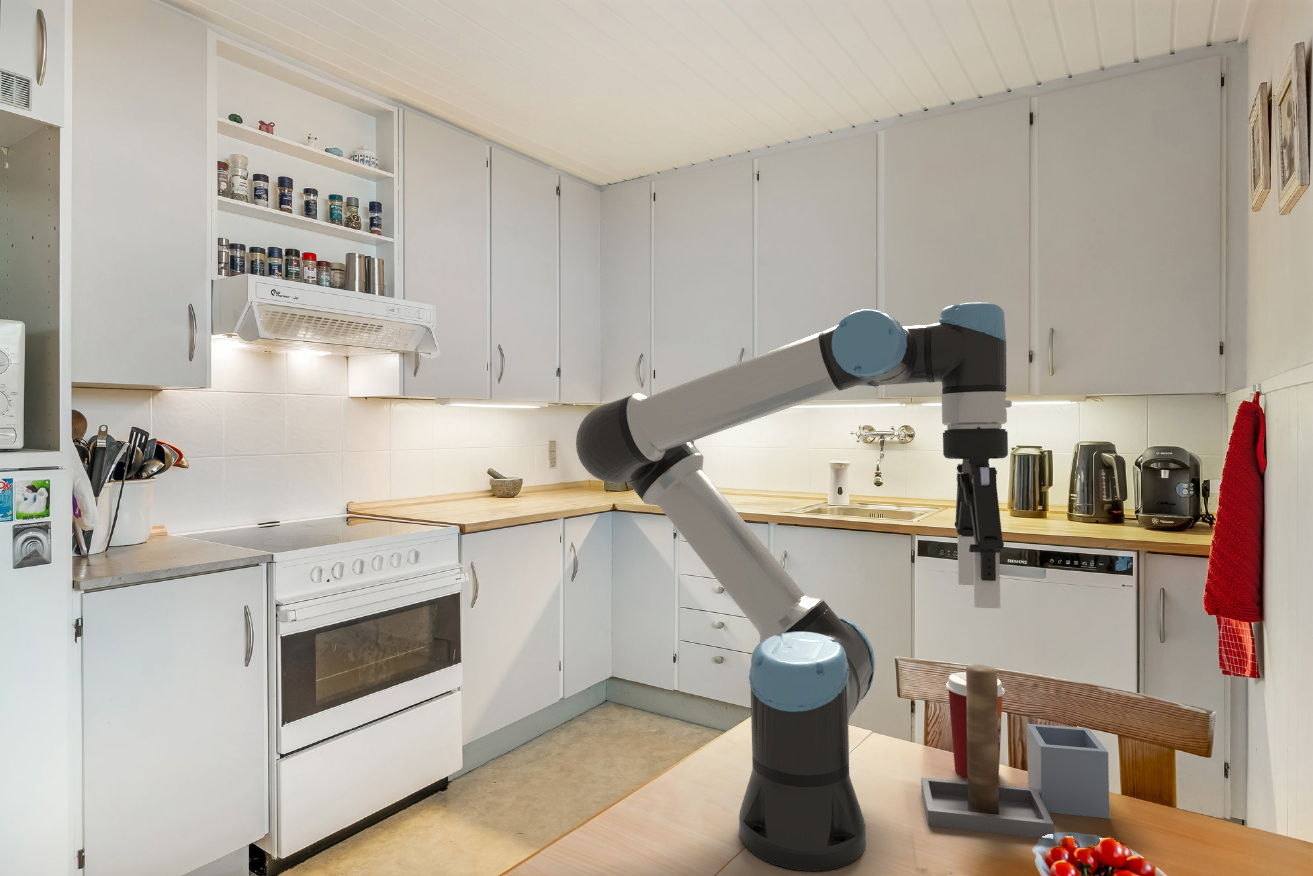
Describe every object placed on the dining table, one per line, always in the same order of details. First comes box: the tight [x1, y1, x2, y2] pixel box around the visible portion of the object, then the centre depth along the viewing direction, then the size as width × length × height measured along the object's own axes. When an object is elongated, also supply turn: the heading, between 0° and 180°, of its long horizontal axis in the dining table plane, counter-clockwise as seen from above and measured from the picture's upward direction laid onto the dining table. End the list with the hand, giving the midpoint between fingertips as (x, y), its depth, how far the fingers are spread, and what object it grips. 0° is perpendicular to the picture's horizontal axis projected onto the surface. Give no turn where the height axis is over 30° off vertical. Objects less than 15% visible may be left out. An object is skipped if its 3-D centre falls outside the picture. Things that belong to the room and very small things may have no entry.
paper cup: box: [945, 671, 1006, 780], centre depth 103 cm, size 8×8×14 cm
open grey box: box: [1026, 723, 1110, 820], centre depth 95 cm, size 8×8×9 cm
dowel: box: [965, 664, 1000, 815], centre depth 92 cm, size 4×4×18 cm
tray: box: [920, 777, 1055, 839], centre depth 92 cm, size 14×9×3 cm, turn 75°
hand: (977, 595), depth 92 cm, fingers open, 13 cm apart
